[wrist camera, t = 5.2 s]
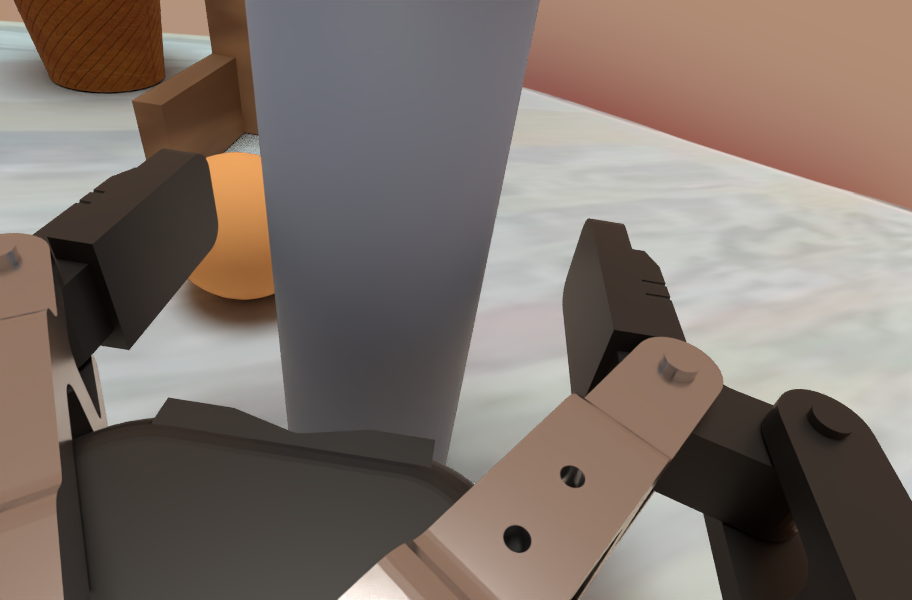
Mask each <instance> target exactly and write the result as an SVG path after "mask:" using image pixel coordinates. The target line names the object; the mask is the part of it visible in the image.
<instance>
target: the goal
mask: <svg viewBox="0 0 912 600" xmlns="http://www.w3.org/2000/svg"><path fill="white" fill-rule="evenodd" d="M205 4H206V12H207V19H208V26H209V33H210V40H211V47H212V54H211V55H209V56H207V57H206V58H204V59H202V60H201V61H199V62H197V63H195V64H194V65H192V66H190V67H189V68H187V69H185V70H183V71H182V72H180V73H178V74H177V75H175V76H173V77H171V78H170V79H168V80H166V81H165V82H163V83H161V84H159V85H158V86H156V87H154V88H153V89H151V90H149V91H147V92H146V93H144V94H142V95H141V96H139V97H137V98H135V99H134V100H132V103H133V107H134V111H135V116H136V120H137V124H138V128H139V132H140V136H141V140H142V144H143V148H144V153H145V157H146V160H147V159H149V158H150V157H151V156H153V155H154V154H155V153H157V152H158V151H159V150H161V149H164V148H166V149H172V150H179V151H185V152H191V153H197V154H201V155H203V156H204V157H205V158H207V157H210V156H213V155H217V154H222V153H223V152H224V151H225V150H226V149H227V148H228V147H230V146H231V145H232V144H233V143H234V142H235V141H236V140H237V139H238V138H239V137H240V136H241V135H242V134H243V133H244V132H245V133H251V134H257V135H258V125H257V115H256V105H255V95H254V85H253V75H252V65H251V56H250V46H249V36H248V26H247V16H246V6H245V0H205Z"/></svg>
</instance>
